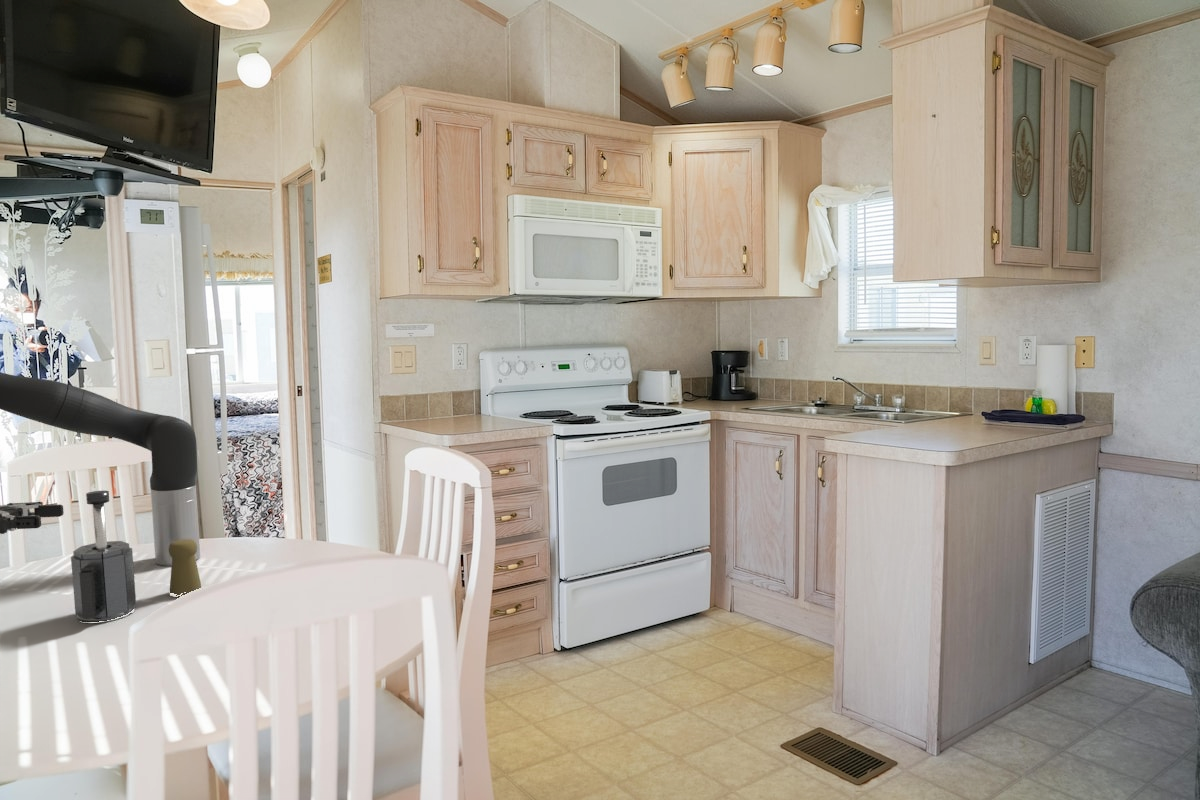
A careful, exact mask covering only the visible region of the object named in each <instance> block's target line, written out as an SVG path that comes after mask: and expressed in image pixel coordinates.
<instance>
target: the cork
mask: <svg viewBox="0 0 1200 800" xmlns="http://www.w3.org/2000/svg"><path fill="white" fill-rule="evenodd" d="M196 552H197V544H196V542H195V541H194V540H192V539H180V540H176V541H174V542H172V543H171V544H170V546H169V554H170V556H171V557H172V565H171V567H170V568H171V569H170V580H169V581H170V582H169V583H170V584H169V591H170V593H174V594H177V595H180V594H181V593H183V594H182V595H185V594H187V593H189V592H191V591H194V590H196V589H199V588H201V587H202V582H201V579H200V574H199V569H198V564H197V560H196V559H195V553H196ZM184 592H186V593H184ZM177 595H176V596H177ZM182 595H181V596H182ZM178 597H180V596H178ZM178 597H177V598H176V599H179V598H178Z"/></svg>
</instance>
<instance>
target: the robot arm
mask: <svg viewBox="0 0 1200 800" xmlns="http://www.w3.org/2000/svg"><path fill="white" fill-rule="evenodd" d="M0 410H2V411H4V412H7V413H9V414H13V415H16V416H19V417H21V418H24V419H25V418H26V419H28V420H31V421H35V422H38V423H41V424H44V425H47V426H50V427H54V428H59V429H62V430H65V431H69V432H75V433H79V434H85V435H90V436H99V437H107V438H114V439H118V440H122V441H124V442H127V443H130V444H133V445H136V446H138V447H141V448H144V450H145V449H146V450H148V451H150V453H151V468H152V469H151V474H150V477H149V484H150V498H151V499H150V501H151V512H152V513H151V514H152V516H151V517H152V528H153V531H152V532H153V541H154V542H153V543H154V560H155V564H157V565H159V566H172V557H171V556H170V554H169V546H170V544H171V543H172V542H174V541H176V540H180V539H192V540H194V541H195V542H196V544H197V552H196V553H195V559H196V561H197V560H199V559H200V558H201V546H200V545H201V543H200V532H199V531H200V530H199V513H198V501H197V485H196V482H197V481H196V480H197V479H196V478H197V473H198V451H197V450H198V449H197V448H198V447H197V437H196V433H195V430H194V427H192V425H191V424H190V423H188V422H187V421H185V420H183V419H181V418H179V417H176V416H172V415H164V414H158V413H155V412H149V411H144V410H139V409H136V408H132V407H129V406H126V405H123V404H120V402H119V403H118V402H117V401H115V400H112V399H110V398H108V397H106V396H103V395H101V394H98V393H96V392H92V391H90V390H87V389H84V388H81V387H77V386H74V385H71V384H68V383H65V382H61V381H56V380H51V379H44V378H38V377H29V376H21V375H14V374H10V373H4V372H2V371H0ZM31 509H33V510H34V512H33V511H30V510H31ZM63 515H64V505H62V504H44V503H43V501H37V502H36V501H35V502H34V501H33V502H9V503H7V504H2V505H0V534H1V535H4V534H7V533H8V532H13V531H16V530H23V529H25V530H26V529H27V530H28V529H39V528H40V527H42V518H58V517H59V518H60V517H62V516H63Z"/></svg>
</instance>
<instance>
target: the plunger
mask: <svg viewBox="0 0 1200 800" xmlns="http://www.w3.org/2000/svg"><path fill="white" fill-rule="evenodd" d="M85 497H86V499H85V500H86V504H87V505H92V510H93V511H92V512H93V525H94V539H95V540H94V541H95V543H96V550H103V549H107V542H108V541H107V539H108V538H107V527H106V514H105V513H106V512H105V504H107V503H109V502H110V493H109V490H94V491H90V492H86V493H85Z"/></svg>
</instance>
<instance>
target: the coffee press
mask: <svg viewBox="0 0 1200 800" xmlns="http://www.w3.org/2000/svg"><path fill="white" fill-rule="evenodd" d="M70 560H71V561H70V562H71V573H72V574H71V575H72V586H73V599H74V611H75V612H74V613H75V615H76V618H77V621H78V620H79V621H82V622H99V621H107V620H111V619H115V618H117V617H121V616H123V615H126V614H128V613H129V612H131V611H132V610H133V609H134V608H135V609H136V605H137V596H136V585H135V584H136V583H135V570H134V555H133V548H132V547H130V543H127V542H125V541H122V540H114V541H113V540H111V541H107V549H103V550H96V542H94V543H90V544H89V543H88V544H87V545H81V546H79V547H78V548H76V549H75V550H73V555H72V556H71V557H70ZM79 621H78V622H79Z"/></svg>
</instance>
